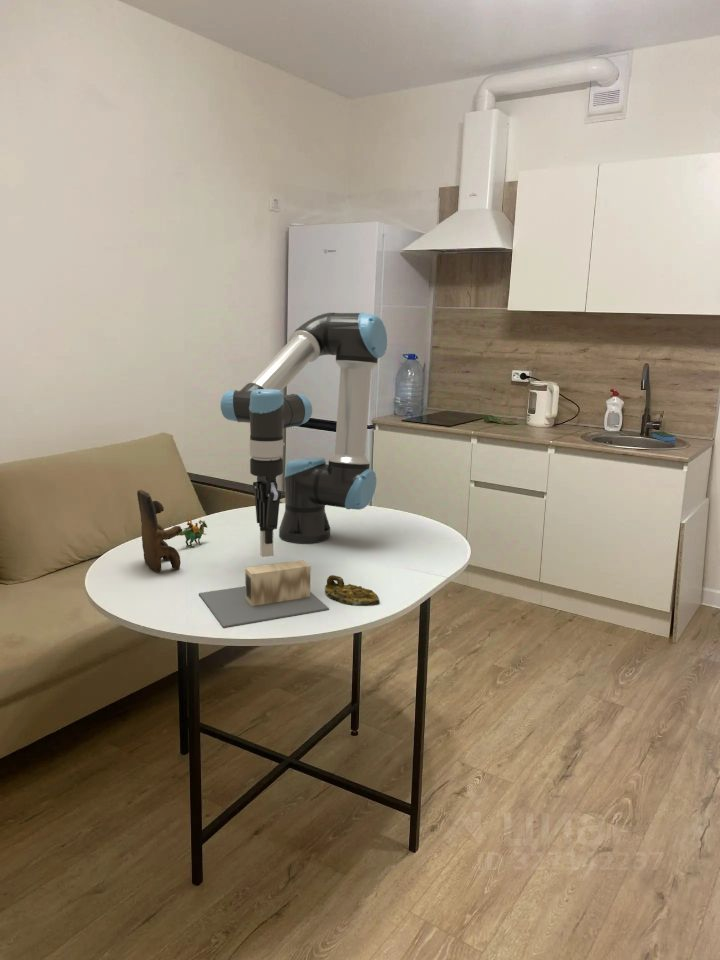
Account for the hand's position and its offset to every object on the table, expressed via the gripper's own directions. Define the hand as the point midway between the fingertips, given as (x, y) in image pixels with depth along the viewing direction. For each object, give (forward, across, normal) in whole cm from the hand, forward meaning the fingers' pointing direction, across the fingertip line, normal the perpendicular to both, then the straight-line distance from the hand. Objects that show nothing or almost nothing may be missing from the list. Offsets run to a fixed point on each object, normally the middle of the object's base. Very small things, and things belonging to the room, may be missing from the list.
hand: (266, 555), depth 172 cm
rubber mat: (+8, -8, +4) cm, 12 cm away
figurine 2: (+8, +38, +9) cm, 40 cm away
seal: (+9, -13, -16) cm, 23 cm away
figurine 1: (+8, +25, +20) cm, 33 cm away
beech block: (+4, -8, +7) cm, 11 cm away
